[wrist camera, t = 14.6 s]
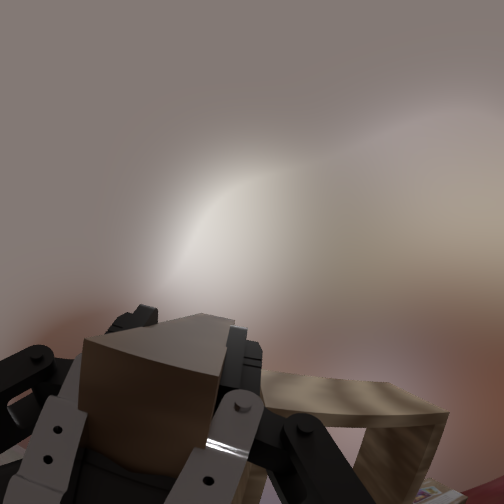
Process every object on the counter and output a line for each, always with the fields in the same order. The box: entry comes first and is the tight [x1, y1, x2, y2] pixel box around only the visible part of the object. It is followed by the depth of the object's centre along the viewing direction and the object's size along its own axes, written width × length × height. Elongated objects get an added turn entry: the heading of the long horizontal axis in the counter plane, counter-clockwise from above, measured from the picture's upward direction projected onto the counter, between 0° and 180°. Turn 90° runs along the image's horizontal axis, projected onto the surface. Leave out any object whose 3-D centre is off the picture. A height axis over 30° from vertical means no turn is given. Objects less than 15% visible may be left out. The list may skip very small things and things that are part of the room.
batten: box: [78, 313, 235, 479], centre depth 17 cm, size 3×22×3 cm, turn 2°
